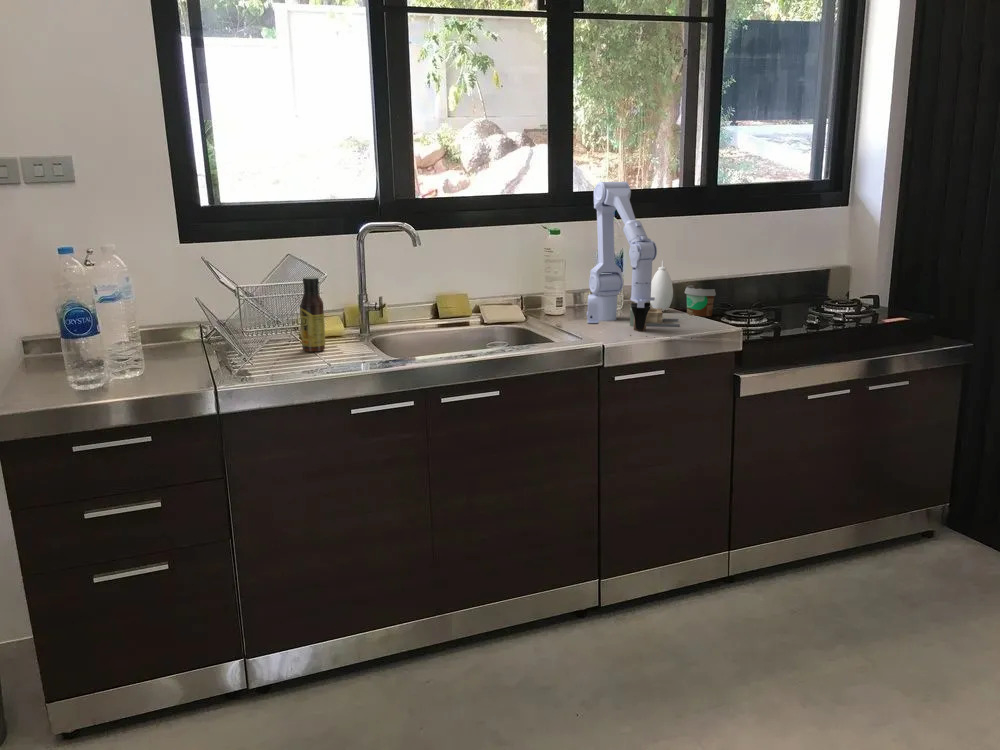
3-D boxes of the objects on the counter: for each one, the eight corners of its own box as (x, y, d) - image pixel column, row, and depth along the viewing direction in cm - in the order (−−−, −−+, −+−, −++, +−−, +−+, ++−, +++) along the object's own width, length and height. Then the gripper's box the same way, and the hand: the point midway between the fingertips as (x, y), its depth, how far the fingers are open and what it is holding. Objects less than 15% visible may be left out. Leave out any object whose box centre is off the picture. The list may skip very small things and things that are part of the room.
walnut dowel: (633, 334, 247) (634, 311, 245) (633, 332, 250) (634, 309, 248) (645, 334, 246) (646, 311, 244) (645, 332, 250) (646, 309, 248)
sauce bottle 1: (300, 349, 227) (296, 276, 222) (323, 347, 229) (320, 275, 224) (304, 353, 221) (299, 279, 216) (327, 352, 223) (323, 278, 218)
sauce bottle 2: (676, 312, 285) (679, 259, 281) (659, 314, 281) (661, 261, 277) (661, 309, 292) (663, 257, 287) (644, 311, 288) (646, 259, 283)
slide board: (629, 329, 254) (630, 310, 253) (630, 322, 266) (630, 304, 264) (679, 330, 252) (680, 311, 251) (677, 324, 264) (678, 305, 262)
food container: (675, 315, 279) (677, 285, 277) (690, 314, 282) (692, 284, 279) (698, 321, 268) (700, 290, 266) (714, 319, 271) (716, 289, 268)
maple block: (635, 324, 256) (636, 312, 255) (635, 320, 263) (636, 308, 262) (662, 325, 254) (662, 312, 254) (661, 321, 262) (662, 308, 261)
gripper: (655, 286, 237) (653, 333, 240) (654, 279, 251) (653, 324, 254) (630, 285, 238) (629, 332, 241) (631, 279, 252) (629, 323, 255)
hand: (639, 328), depth 248 cm, fingers closed on walnut dowel, 4 cm apart
